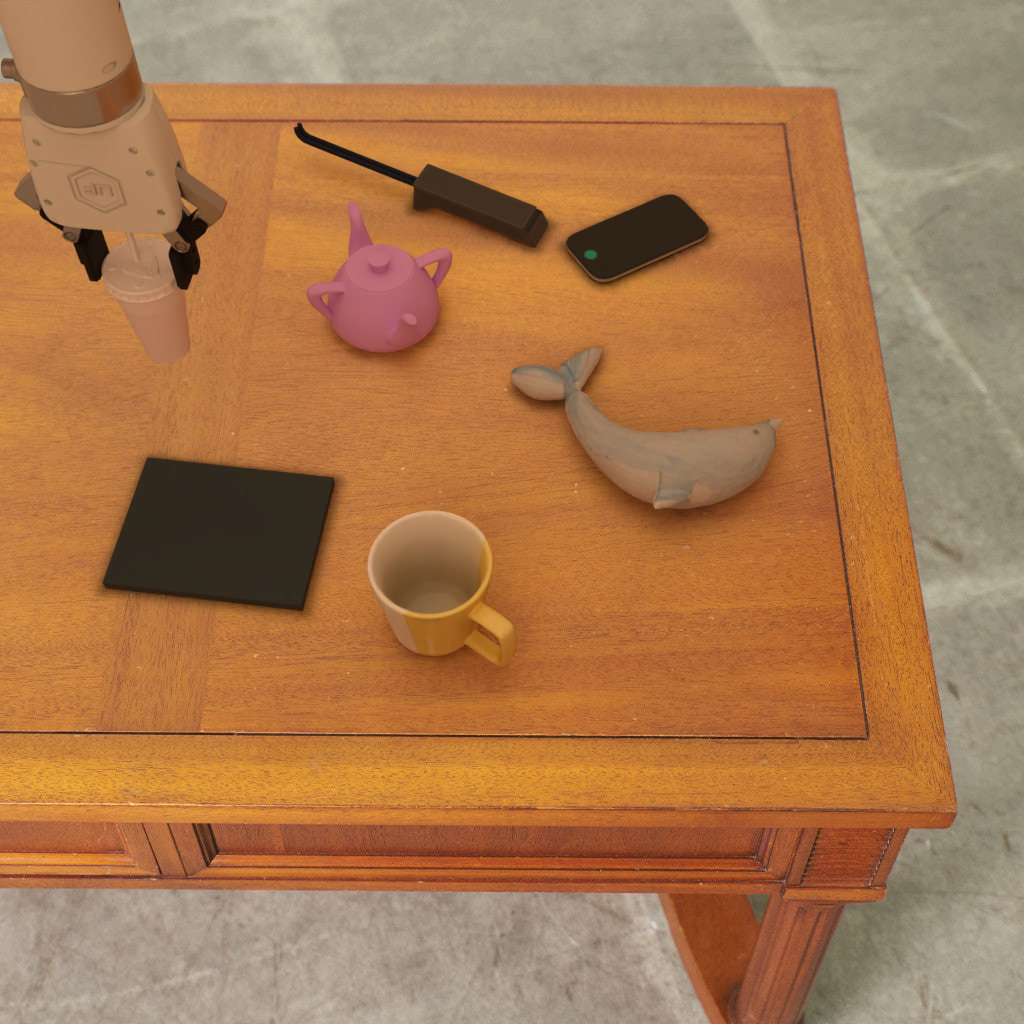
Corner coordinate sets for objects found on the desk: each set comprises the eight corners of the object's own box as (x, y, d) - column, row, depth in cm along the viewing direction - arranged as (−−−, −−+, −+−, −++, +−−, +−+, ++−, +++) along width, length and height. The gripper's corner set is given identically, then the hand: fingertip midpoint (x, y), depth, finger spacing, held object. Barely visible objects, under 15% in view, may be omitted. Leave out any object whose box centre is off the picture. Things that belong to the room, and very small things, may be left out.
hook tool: (546, 235, 141) (305, 139, 145) (550, 211, 138) (304, 114, 142) (532, 257, 139) (289, 160, 143) (536, 234, 136) (287, 135, 140)
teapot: (358, 261, 137) (350, 198, 129) (473, 304, 133) (471, 241, 126) (299, 335, 131) (288, 273, 123) (418, 382, 127) (414, 321, 120)
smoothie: (176, 307, 110) (138, 181, 98) (222, 347, 107) (189, 223, 96) (114, 347, 107) (68, 222, 96) (160, 389, 105) (118, 266, 93)
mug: (354, 615, 112) (342, 552, 104) (447, 555, 116) (443, 488, 107) (446, 728, 106) (442, 671, 98) (541, 661, 110) (545, 600, 101)
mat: (104, 588, 114) (101, 582, 113) (149, 462, 122) (146, 456, 121) (303, 611, 113) (301, 605, 112) (335, 483, 120) (333, 476, 120)
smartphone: (560, 237, 138) (674, 189, 142) (560, 243, 138) (673, 195, 143) (599, 282, 134) (714, 230, 138) (598, 288, 135) (713, 236, 139)
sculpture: (637, 283, 131) (820, 412, 117) (631, 342, 136) (804, 471, 123) (500, 347, 123) (678, 493, 109) (499, 407, 128) (669, 553, 115)
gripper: (-64, 106, 84) (21, 297, 98) (195, 128, 83) (241, 318, 97) (-24, 36, 88) (52, 230, 103) (223, 56, 87) (263, 249, 102)
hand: (143, 271), depth 100 cm, fingers closed on smoothie, 6 cm apart
